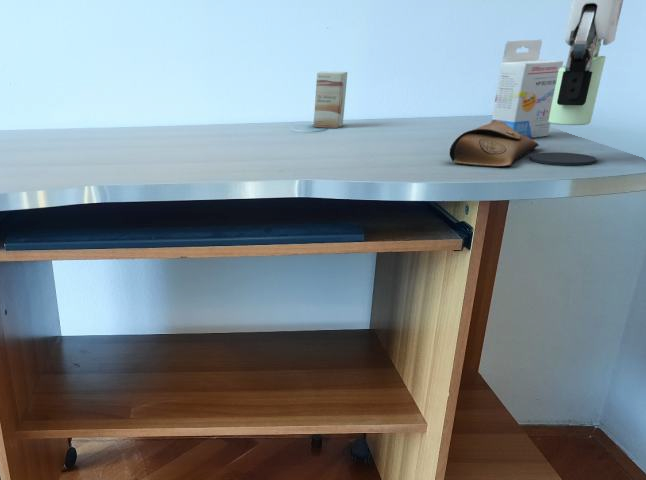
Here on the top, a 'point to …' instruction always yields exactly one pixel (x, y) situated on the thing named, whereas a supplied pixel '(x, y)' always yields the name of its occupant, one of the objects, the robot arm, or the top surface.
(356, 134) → the top surface
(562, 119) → the candle
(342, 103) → the cream medicine box
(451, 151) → the sunglasses case
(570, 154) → the coaster
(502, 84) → the ink box
